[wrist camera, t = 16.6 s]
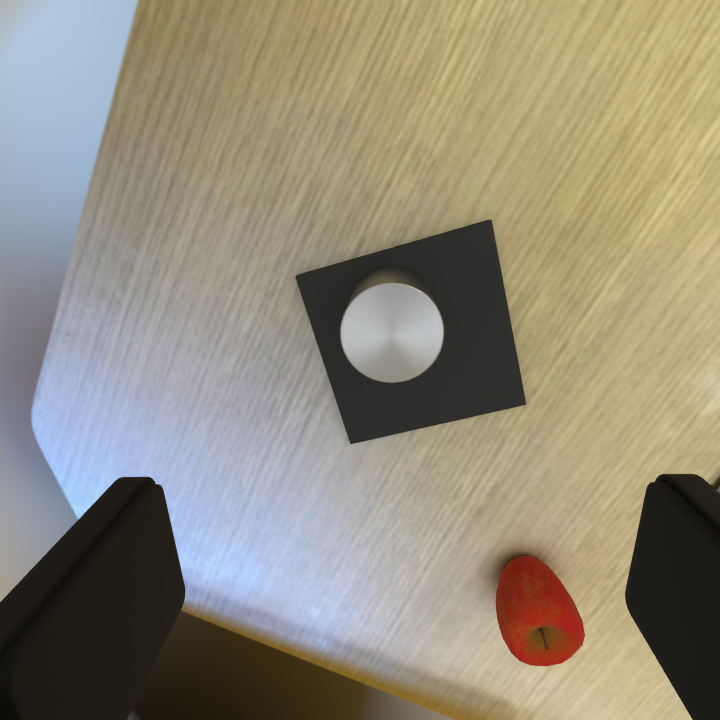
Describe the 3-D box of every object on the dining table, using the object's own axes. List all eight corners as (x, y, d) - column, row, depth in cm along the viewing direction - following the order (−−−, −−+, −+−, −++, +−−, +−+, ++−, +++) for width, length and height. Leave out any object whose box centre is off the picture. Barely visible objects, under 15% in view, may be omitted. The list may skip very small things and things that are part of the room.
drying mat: (350, 441, 37) (350, 444, 36) (296, 275, 33) (294, 276, 32) (524, 402, 35) (526, 404, 34) (490, 219, 31) (491, 219, 30)
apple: (486, 540, 39) (507, 614, 32) (559, 540, 39) (597, 615, 32) (483, 596, 41) (503, 677, 34) (553, 596, 41) (587, 679, 34)
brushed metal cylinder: (362, 356, 34) (356, 393, 27) (339, 279, 32) (326, 298, 25) (441, 336, 33) (454, 369, 26) (422, 255, 31) (431, 269, 25)
